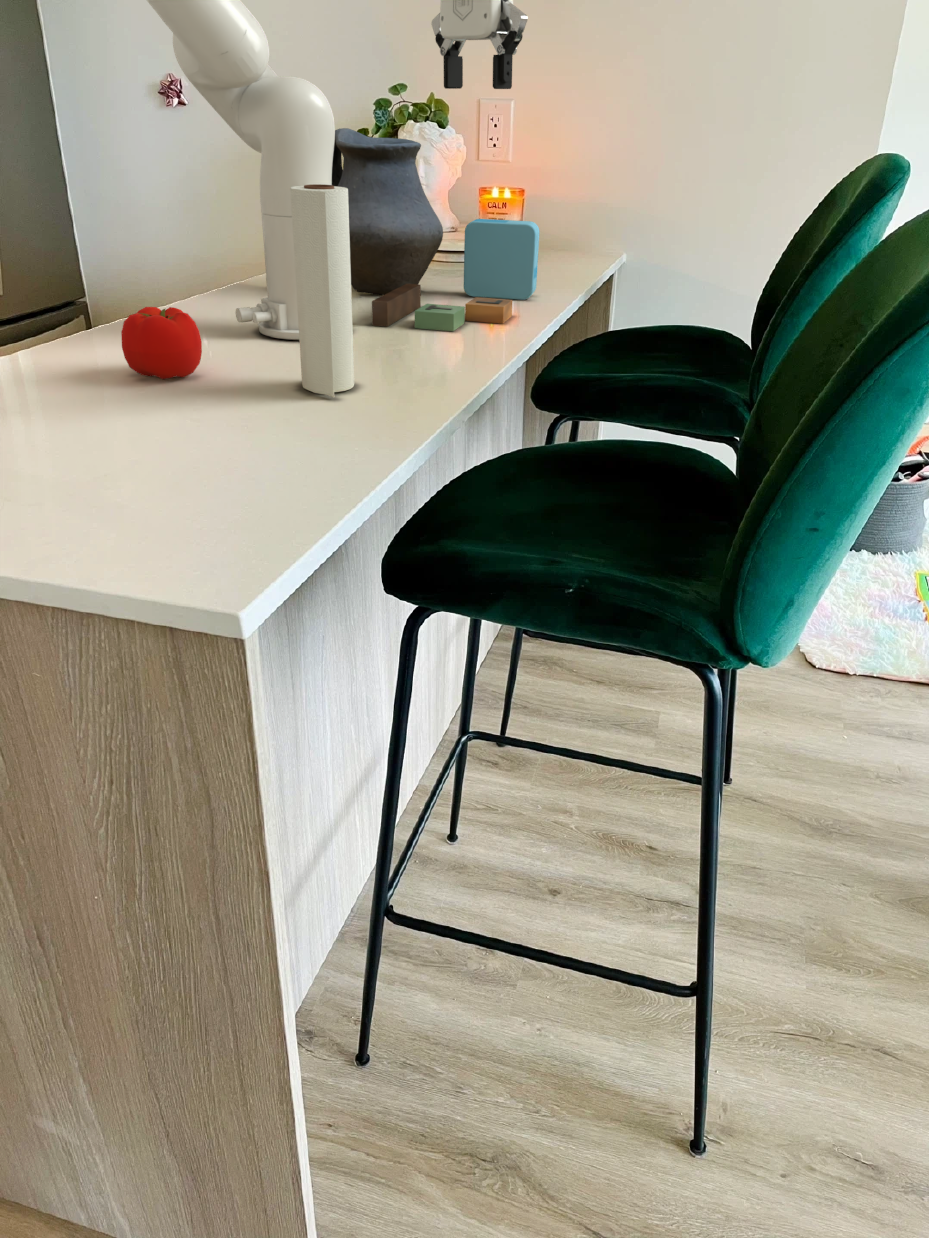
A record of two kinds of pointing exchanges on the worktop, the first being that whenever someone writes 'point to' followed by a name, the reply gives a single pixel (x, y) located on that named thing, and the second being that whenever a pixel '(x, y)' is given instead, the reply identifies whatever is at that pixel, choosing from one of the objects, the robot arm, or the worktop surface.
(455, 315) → the sage letter tile
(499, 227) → the blue rounded slab
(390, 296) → the walnut ledge
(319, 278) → the paper towel roll
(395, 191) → the pitcher
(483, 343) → the worktop surface
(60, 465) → the worktop surface
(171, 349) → the tomato
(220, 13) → the robot arm
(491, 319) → the oak letter tile
